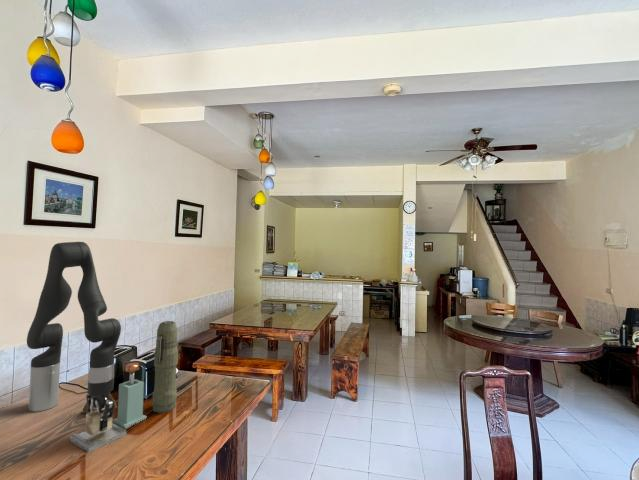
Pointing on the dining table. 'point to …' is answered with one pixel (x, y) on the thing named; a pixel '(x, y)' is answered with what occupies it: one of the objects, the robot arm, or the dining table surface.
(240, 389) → the dining table surface
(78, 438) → the grey square tray
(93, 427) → the block
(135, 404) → the column
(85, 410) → the rock
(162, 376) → the thermos
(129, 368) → the plunger
